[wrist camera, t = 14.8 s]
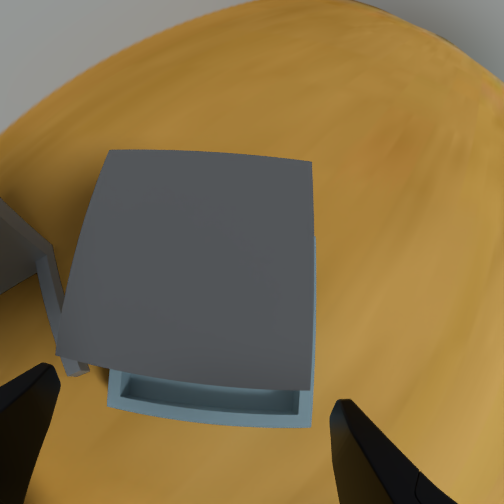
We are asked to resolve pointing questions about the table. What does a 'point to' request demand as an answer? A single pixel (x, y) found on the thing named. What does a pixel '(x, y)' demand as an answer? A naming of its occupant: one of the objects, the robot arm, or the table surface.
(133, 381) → the tray
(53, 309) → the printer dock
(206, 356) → the grey tall block
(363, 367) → the table surface
